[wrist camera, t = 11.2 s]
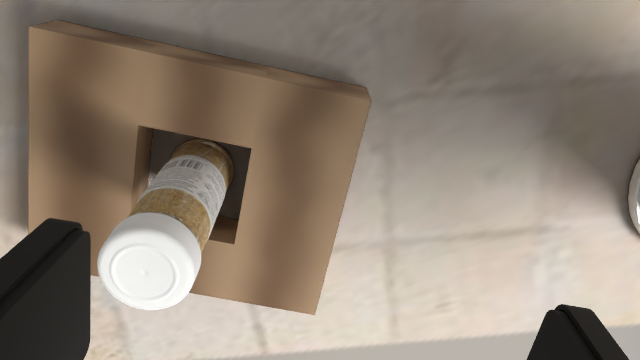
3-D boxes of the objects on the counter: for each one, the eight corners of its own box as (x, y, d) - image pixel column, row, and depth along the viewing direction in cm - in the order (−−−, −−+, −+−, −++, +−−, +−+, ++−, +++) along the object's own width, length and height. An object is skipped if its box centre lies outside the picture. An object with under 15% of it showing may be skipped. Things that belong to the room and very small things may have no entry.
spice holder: (366, 87, 34) (371, 100, 31) (314, 286, 40) (314, 315, 37) (57, 20, 32) (28, 26, 29) (52, 238, 38) (28, 263, 35)
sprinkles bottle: (166, 189, 37) (90, 303, 24) (175, 130, 35) (97, 220, 23) (230, 203, 37) (185, 322, 25) (241, 144, 36) (200, 242, 23)
